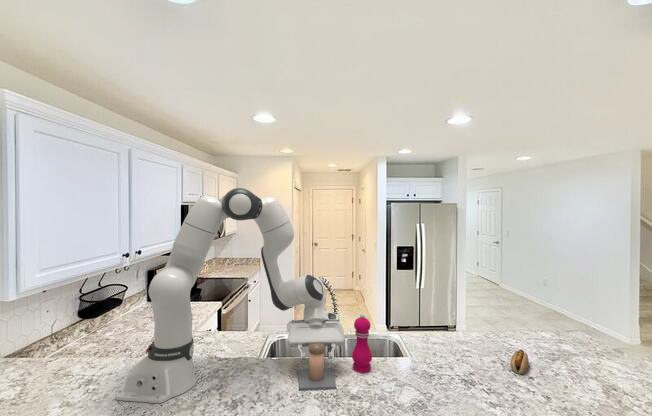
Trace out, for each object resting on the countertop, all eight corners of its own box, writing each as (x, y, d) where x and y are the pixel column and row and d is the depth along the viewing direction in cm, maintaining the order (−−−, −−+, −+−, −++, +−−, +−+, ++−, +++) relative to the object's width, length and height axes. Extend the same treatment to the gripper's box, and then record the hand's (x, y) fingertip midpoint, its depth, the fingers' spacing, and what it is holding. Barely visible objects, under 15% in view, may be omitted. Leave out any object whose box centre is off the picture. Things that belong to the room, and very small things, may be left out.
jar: (309, 382, 99) (309, 348, 100) (307, 373, 105) (308, 341, 105) (325, 381, 100) (325, 347, 100) (323, 372, 105) (323, 341, 106)
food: (527, 378, 105) (527, 363, 105) (508, 373, 109) (508, 359, 109) (529, 363, 116) (529, 350, 116) (513, 358, 120) (513, 346, 120)
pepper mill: (371, 375, 106) (371, 317, 106) (350, 372, 107) (351, 316, 108) (372, 365, 113) (372, 311, 113) (353, 362, 114) (353, 309, 115)
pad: (299, 390, 96) (299, 388, 96) (298, 371, 108) (298, 368, 108) (336, 389, 97) (336, 386, 97) (331, 369, 109) (332, 367, 109)
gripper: (287, 316, 109) (285, 356, 99) (343, 315, 111) (347, 354, 101) (287, 324, 113) (286, 363, 103) (341, 322, 115) (345, 361, 105)
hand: (316, 358), depth 102 cm, fingers open, 8 cm apart
